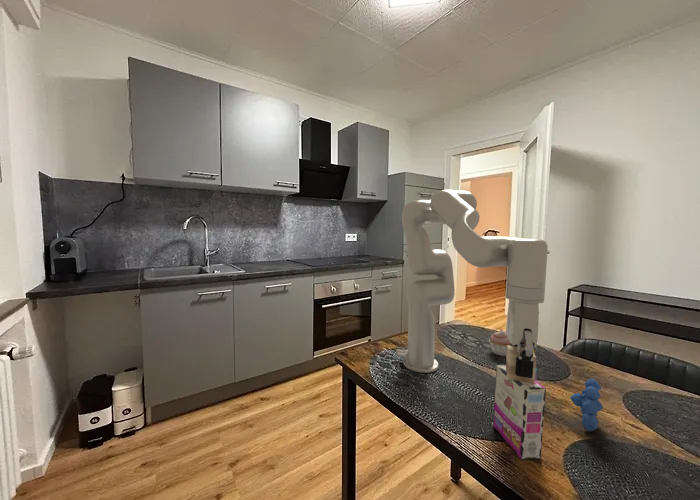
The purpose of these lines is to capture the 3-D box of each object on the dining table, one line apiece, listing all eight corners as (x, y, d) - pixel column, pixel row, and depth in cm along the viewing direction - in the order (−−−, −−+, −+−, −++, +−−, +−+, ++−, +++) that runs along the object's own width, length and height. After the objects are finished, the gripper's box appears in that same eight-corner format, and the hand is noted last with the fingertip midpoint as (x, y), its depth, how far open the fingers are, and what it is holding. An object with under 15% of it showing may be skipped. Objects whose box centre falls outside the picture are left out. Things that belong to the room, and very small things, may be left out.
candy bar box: (542, 459, 64) (547, 388, 62) (521, 460, 63) (525, 389, 62) (510, 424, 75) (514, 363, 73) (492, 425, 74) (495, 364, 73)
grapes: (570, 408, 82) (573, 367, 81) (601, 418, 77) (605, 375, 76) (566, 429, 73) (569, 384, 72) (601, 442, 69) (605, 394, 68)
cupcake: (492, 346, 124) (493, 323, 123) (516, 353, 117) (518, 329, 116) (484, 353, 117) (485, 329, 116) (509, 361, 110) (511, 335, 110)
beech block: (509, 379, 66) (510, 353, 65) (505, 369, 71) (507, 345, 70) (534, 383, 64) (536, 357, 64) (529, 372, 69) (530, 348, 68)
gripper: (501, 284, 75) (497, 350, 77) (512, 300, 59) (507, 383, 60) (534, 287, 72) (530, 355, 74) (556, 304, 56) (550, 391, 58)
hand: (520, 367), depth 67 cm, fingers open, 7 cm apart
